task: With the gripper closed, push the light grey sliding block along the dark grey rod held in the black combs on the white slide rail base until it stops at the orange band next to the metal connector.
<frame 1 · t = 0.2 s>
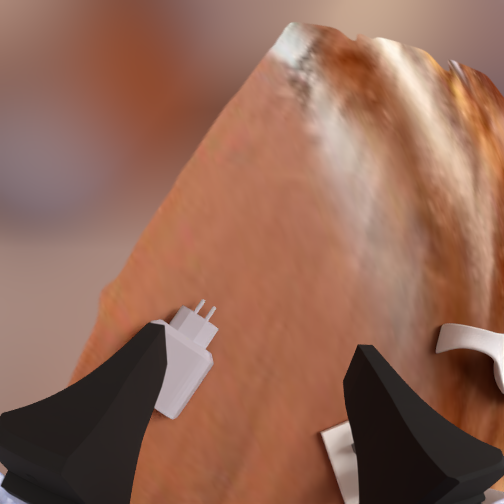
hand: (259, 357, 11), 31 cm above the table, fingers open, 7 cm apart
white slide rail base: (379, 498, 33), on the table
spoon rest: (484, 359, 41), on the table
charger: (180, 352, 41), on the table
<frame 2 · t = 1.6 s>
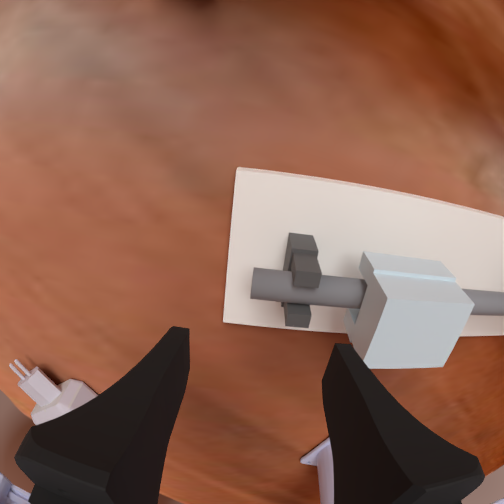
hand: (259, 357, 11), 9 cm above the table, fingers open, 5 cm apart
white slide rail base: (436, 271, 20), on the table
light grey sliding block: (405, 312, 15), point 5 cm above the table, slide at 0.0 cm
charger: (73, 394, 29), on the table
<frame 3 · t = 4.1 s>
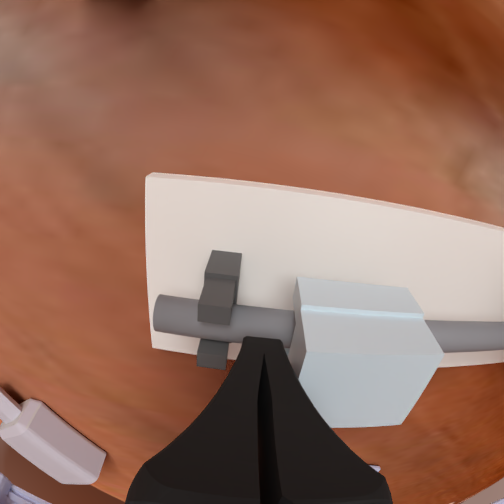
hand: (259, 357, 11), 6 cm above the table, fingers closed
white slide rail base: (410, 293, 17), on the table
light grey sliding block: (352, 356, 12), point 6 cm above the table, slide at 0.0 cm, touching gripper
charger: (37, 412, 26), on the table
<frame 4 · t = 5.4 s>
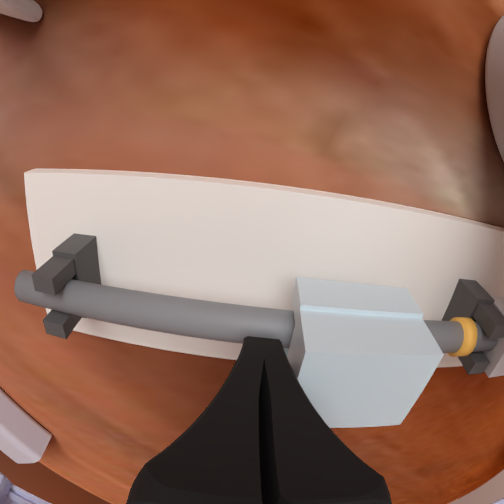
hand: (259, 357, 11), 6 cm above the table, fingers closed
white slide rail base: (284, 281, 17), on the table
light grey sliding block: (351, 356, 12), point 5 cm above the table, slide at 7.5 cm, touching gripper
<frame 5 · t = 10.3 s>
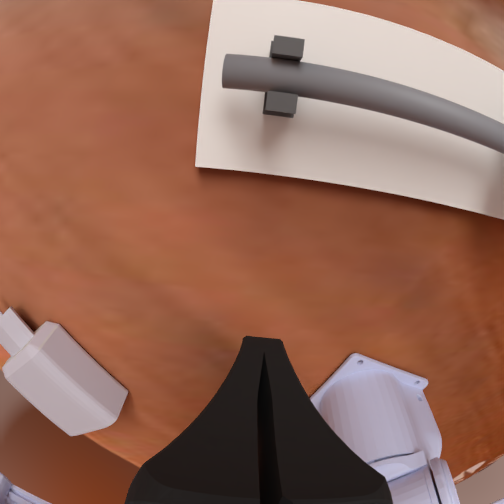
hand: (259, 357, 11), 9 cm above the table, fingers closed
white slide rail base: (446, 123, 16), on the table
charger: (51, 345, 26), on the table
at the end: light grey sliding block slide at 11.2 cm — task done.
